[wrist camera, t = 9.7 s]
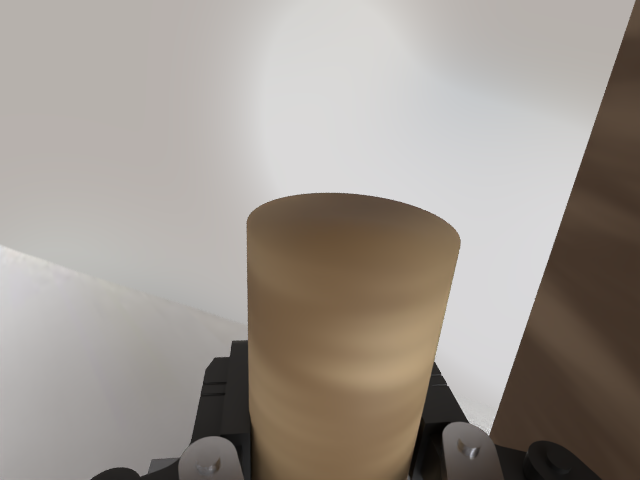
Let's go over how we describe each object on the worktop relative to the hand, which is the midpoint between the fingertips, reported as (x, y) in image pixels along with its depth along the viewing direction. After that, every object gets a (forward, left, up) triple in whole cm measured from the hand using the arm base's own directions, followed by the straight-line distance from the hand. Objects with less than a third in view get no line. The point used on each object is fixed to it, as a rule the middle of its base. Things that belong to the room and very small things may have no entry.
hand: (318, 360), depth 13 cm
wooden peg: (0, +3, -8) cm, 8 cm away
